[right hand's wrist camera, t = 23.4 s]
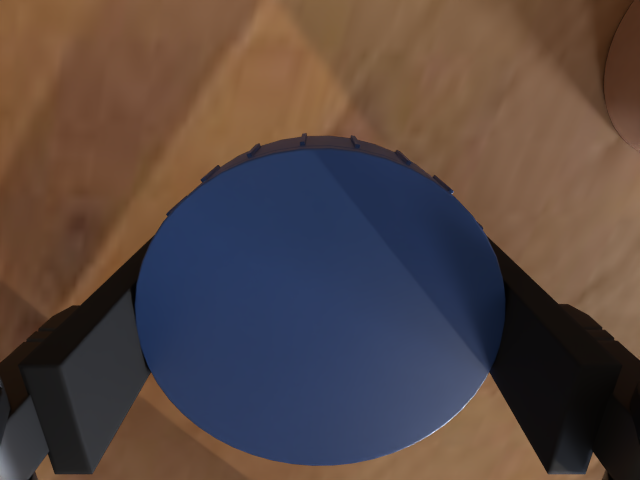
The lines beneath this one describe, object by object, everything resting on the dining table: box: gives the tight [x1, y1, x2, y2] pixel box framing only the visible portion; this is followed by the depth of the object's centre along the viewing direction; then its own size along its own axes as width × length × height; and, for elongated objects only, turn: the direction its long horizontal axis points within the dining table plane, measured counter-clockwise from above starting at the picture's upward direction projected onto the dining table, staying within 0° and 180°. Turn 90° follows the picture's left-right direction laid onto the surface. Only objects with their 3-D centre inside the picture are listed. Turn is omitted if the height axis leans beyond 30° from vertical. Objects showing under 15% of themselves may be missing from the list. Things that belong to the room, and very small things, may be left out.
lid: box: [135, 133, 506, 466], centre depth 11 cm, size 9×9×2 cm
